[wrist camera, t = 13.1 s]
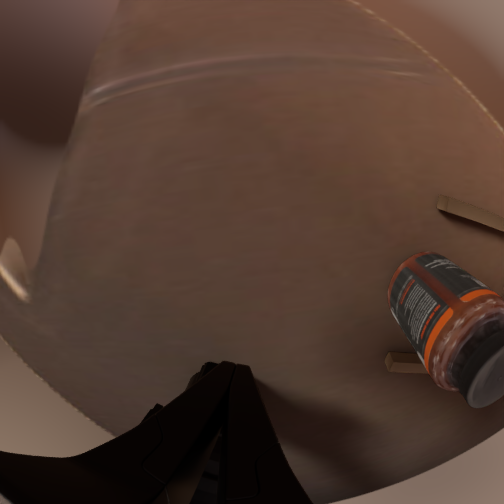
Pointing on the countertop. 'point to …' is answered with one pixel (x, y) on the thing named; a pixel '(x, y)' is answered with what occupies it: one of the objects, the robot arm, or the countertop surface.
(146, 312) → the countertop surface
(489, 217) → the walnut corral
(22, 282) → the countertop surface
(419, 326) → the supplement bottle
